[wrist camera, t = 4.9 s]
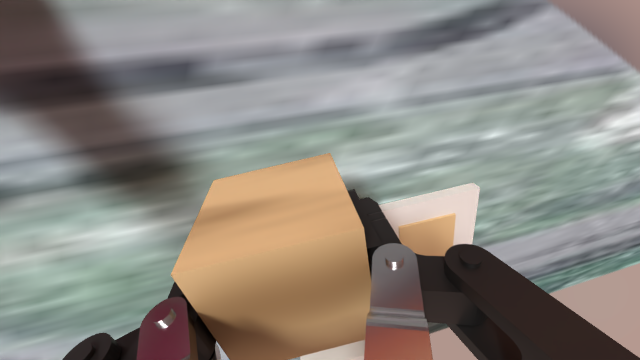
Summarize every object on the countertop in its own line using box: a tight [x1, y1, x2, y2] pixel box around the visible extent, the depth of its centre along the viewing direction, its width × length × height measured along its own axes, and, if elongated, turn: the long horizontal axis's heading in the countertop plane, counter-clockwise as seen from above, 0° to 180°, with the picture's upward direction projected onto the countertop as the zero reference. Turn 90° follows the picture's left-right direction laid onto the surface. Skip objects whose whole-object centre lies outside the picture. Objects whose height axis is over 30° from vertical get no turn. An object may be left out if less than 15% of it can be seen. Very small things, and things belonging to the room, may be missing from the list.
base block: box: [300, 340, 365, 360], centre depth 24 cm, size 6×6×5 cm
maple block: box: [171, 153, 371, 360], centre depth 10 cm, size 5×5×5 cm
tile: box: [379, 183, 480, 256], centre depth 21 cm, size 8×8×1 cm
